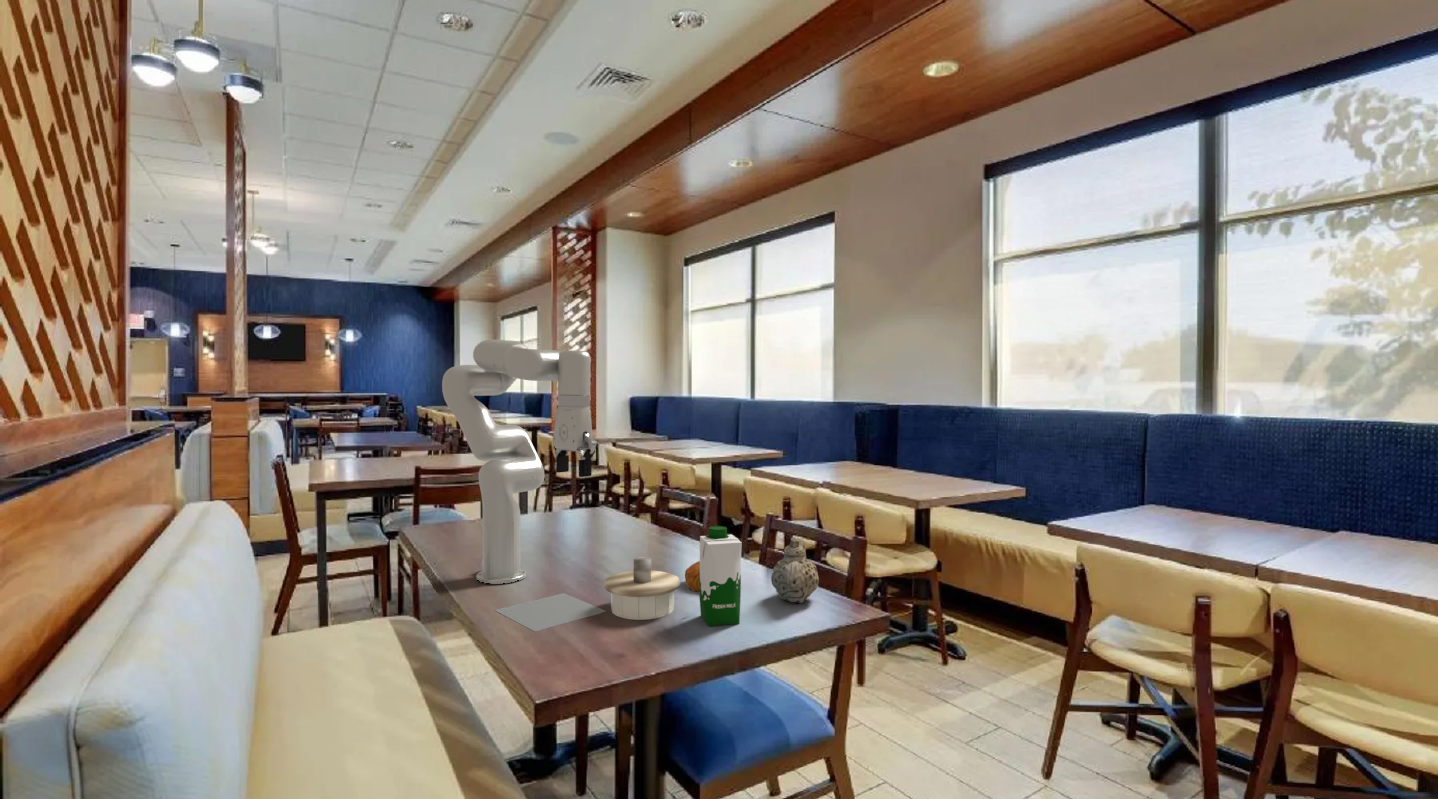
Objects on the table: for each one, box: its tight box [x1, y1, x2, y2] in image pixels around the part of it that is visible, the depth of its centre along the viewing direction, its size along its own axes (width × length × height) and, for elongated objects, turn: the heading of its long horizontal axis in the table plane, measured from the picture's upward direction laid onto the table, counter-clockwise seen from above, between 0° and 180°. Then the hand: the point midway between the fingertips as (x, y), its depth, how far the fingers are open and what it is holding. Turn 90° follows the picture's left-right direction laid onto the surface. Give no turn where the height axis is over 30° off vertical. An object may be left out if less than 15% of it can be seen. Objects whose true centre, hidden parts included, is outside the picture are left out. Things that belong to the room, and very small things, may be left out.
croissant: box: [684, 560, 700, 593], centre depth 176 cm, size 14×16×8 cm
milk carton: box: [698, 525, 743, 627], centre depth 150 cm, size 9×9×20 cm
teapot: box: [770, 536, 820, 604], centre depth 165 cm, size 21×12×15 cm, turn 168°
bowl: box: [610, 591, 675, 621], centre depth 155 cm, size 14×14×6 cm
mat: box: [494, 592, 608, 633], centre depth 154 cm, size 18×18×1 cm
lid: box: [604, 556, 680, 597], centre depth 155 cm, size 17×17×6 cm
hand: (573, 474), depth 163 cm, fingers open, 9 cm apart
